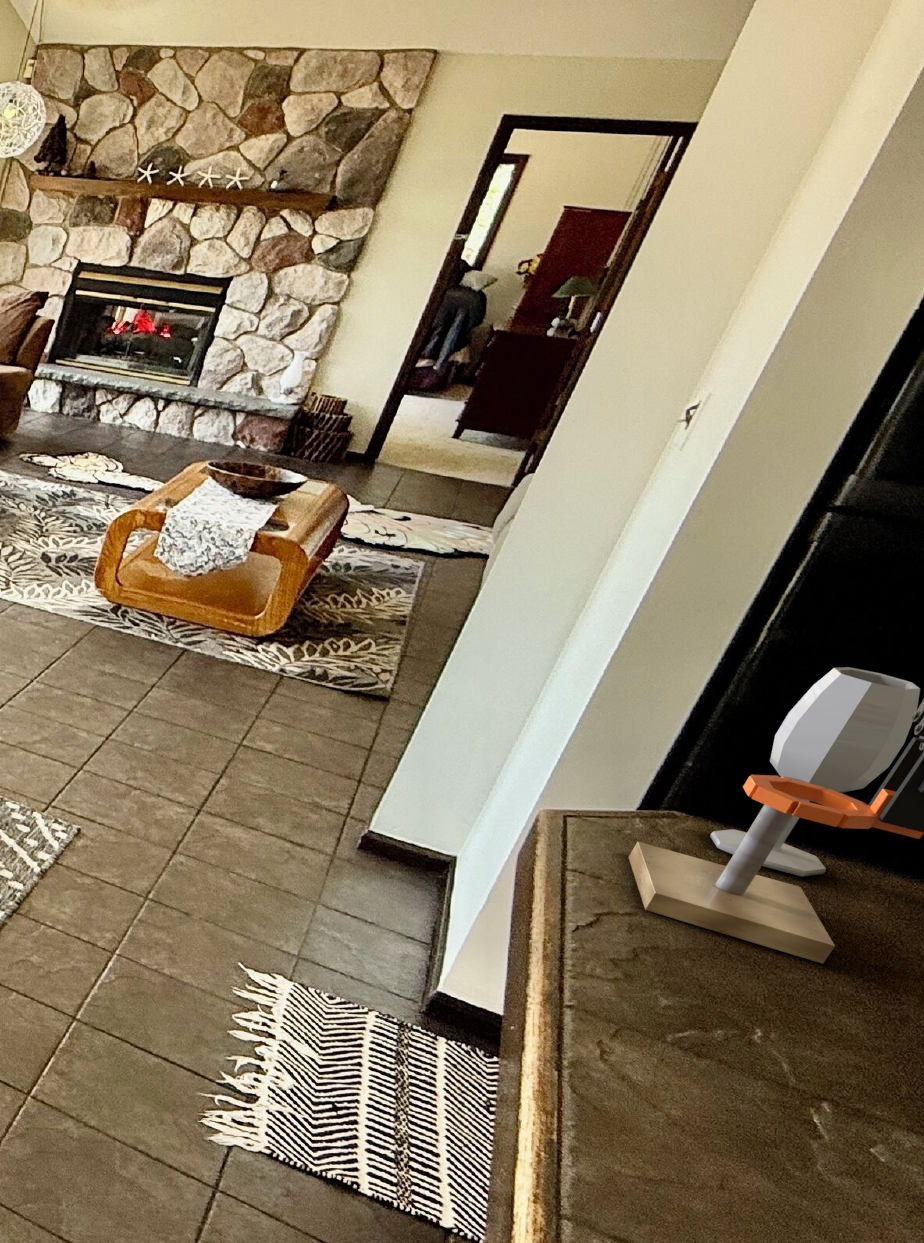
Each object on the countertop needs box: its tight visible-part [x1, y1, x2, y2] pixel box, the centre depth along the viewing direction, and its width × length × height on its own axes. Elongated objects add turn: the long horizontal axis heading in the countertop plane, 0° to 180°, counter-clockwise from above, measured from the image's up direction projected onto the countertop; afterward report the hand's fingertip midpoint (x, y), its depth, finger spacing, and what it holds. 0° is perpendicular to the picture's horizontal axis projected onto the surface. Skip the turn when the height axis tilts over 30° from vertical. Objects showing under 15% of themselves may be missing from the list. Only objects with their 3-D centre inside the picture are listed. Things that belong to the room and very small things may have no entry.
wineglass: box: [710, 666, 921, 877], centre depth 121 cm, size 9×9×21 cm
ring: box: [742, 774, 924, 840], centre depth 98 cm, size 10×7×3 cm
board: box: [628, 776, 836, 965], centre depth 112 cm, size 12×14×14 cm
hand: (898, 818), depth 97 cm, fingers closed on ring, 3 cm apart
